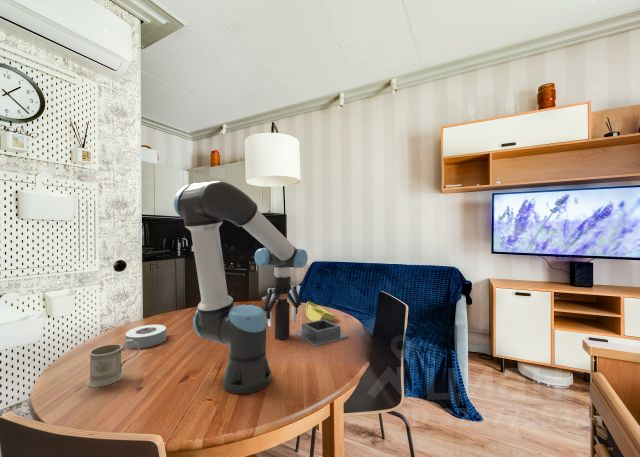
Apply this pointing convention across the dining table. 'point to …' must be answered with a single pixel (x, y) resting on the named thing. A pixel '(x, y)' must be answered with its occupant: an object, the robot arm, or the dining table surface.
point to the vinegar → (282, 318)
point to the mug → (107, 364)
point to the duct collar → (320, 332)
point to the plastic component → (317, 312)
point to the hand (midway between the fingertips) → (282, 323)
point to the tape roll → (146, 336)
